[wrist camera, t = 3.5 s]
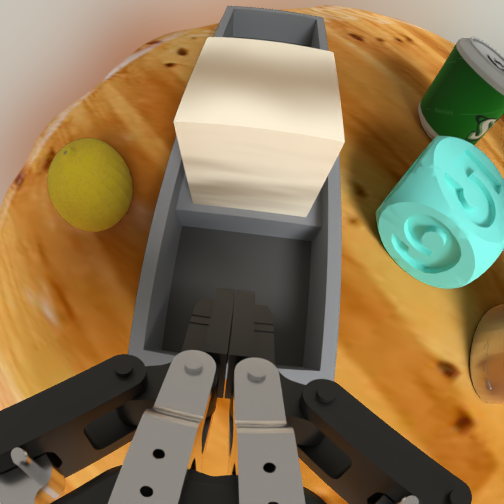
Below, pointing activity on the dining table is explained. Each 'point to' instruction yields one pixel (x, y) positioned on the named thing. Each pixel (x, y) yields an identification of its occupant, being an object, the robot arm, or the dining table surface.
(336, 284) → the tray
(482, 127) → the soda can
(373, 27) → the dining table surface
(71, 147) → the lemon
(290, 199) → the ash block
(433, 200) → the decorative dice
